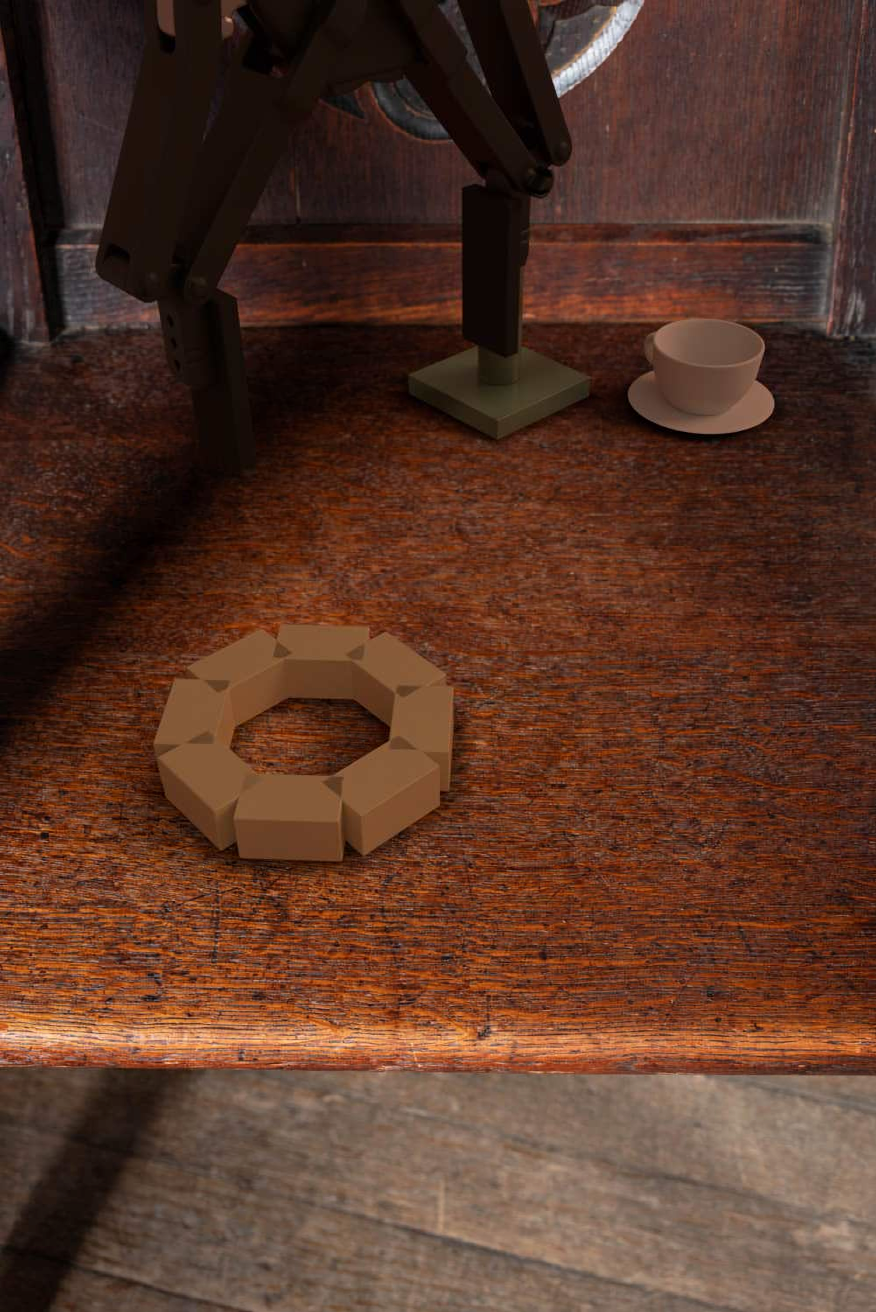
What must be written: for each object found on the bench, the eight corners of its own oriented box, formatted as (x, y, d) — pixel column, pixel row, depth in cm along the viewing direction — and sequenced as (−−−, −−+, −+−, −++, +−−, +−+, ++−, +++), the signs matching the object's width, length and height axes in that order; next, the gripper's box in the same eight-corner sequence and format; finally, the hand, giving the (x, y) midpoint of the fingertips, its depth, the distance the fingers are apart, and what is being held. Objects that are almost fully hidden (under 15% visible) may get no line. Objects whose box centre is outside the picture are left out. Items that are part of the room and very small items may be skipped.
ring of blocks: (114, 747, 61) (105, 708, 60) (334, 630, 68) (330, 591, 66) (281, 911, 53) (275, 870, 52) (510, 759, 60) (511, 719, 59)
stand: (408, 393, 89) (404, 233, 82) (500, 354, 94) (503, 199, 86) (497, 440, 84) (500, 273, 76) (589, 396, 88) (600, 235, 81)
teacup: (801, 403, 87) (813, 340, 84) (716, 456, 82) (725, 391, 79) (685, 358, 93) (692, 297, 90) (597, 404, 87) (602, 342, 84)
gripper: (4, -209, 29) (151, 555, 42) (700, -268, 42) (642, 333, 55) (-128, -227, 33) (43, 470, 47) (538, -275, 46) (521, 283, 59)
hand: (367, 397), depth 51 cm, fingers open, 13 cm apart
